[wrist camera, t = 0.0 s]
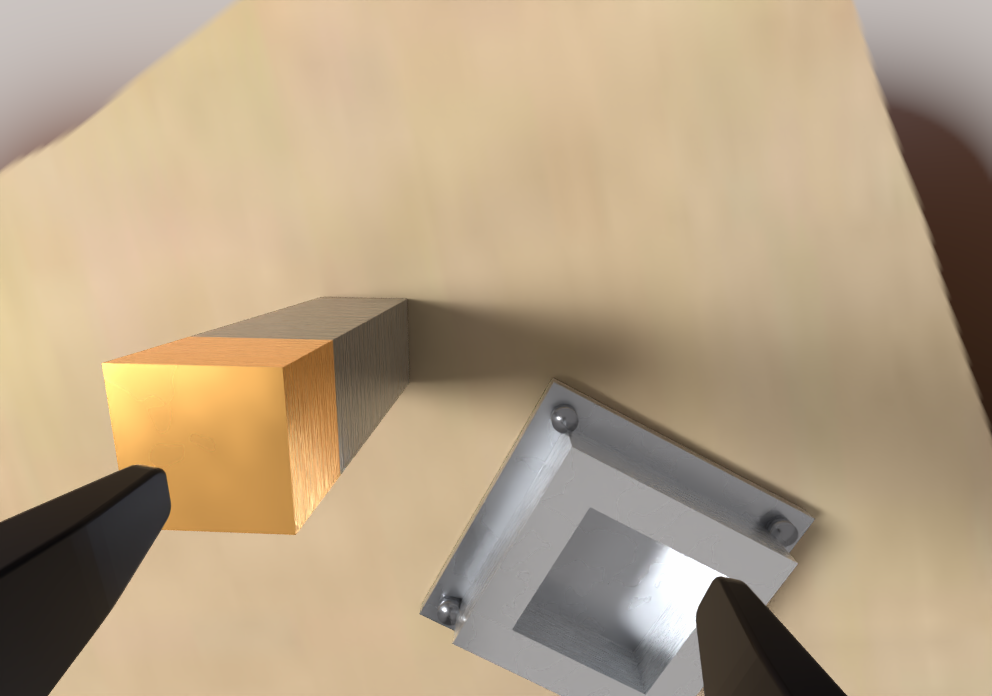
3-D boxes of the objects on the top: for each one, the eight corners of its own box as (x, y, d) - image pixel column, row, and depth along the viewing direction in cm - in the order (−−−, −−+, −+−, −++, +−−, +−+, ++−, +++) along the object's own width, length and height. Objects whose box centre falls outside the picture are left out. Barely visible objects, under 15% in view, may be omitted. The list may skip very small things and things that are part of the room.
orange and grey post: (409, 382, 24) (295, 534, 12) (326, 380, 24) (128, 528, 12) (407, 298, 23) (282, 367, 11) (321, 296, 23) (101, 363, 11)
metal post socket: (652, 713, 27) (670, 777, 24) (422, 602, 26) (409, 653, 23) (805, 509, 24) (849, 551, 21) (552, 377, 23) (558, 399, 20)
